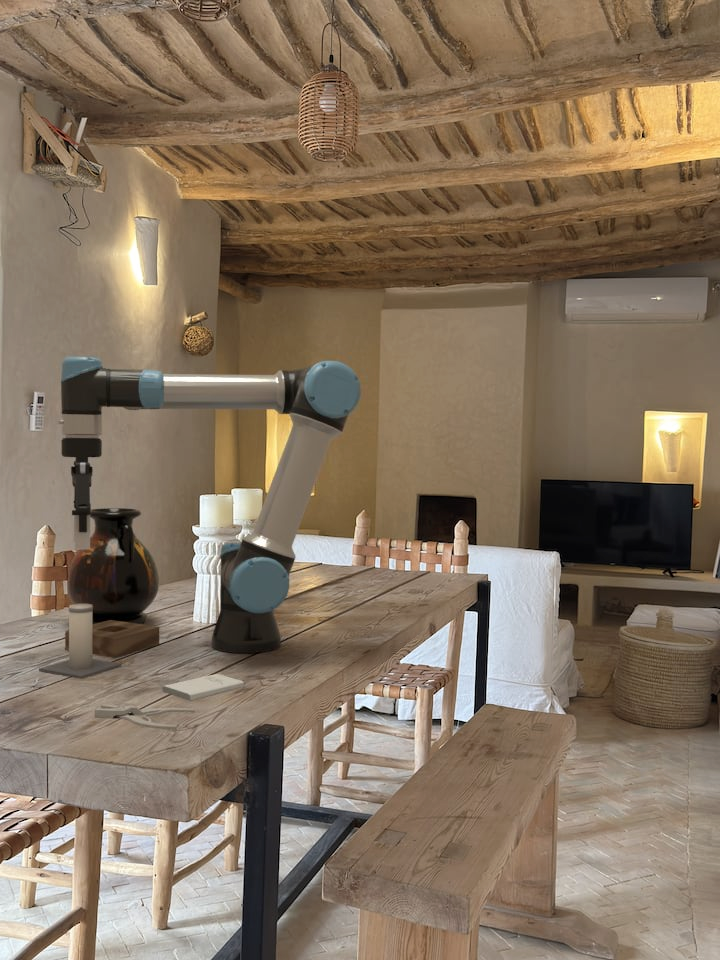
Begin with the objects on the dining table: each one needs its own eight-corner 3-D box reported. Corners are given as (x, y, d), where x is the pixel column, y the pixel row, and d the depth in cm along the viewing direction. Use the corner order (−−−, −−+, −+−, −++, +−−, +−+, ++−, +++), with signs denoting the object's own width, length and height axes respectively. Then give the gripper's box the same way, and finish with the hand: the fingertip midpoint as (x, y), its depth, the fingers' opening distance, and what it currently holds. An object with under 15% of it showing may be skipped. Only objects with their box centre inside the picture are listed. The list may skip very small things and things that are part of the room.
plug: (97, 664, 180) (97, 604, 179) (81, 669, 176) (81, 608, 175) (80, 662, 182) (80, 602, 181) (63, 666, 178) (63, 606, 177)
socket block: (159, 644, 200) (159, 626, 200) (115, 657, 188) (115, 638, 188) (110, 637, 207) (110, 619, 206) (65, 649, 194) (65, 631, 194)
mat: (121, 665, 181) (121, 663, 181) (81, 678, 171) (81, 676, 171) (80, 659, 186) (80, 656, 186) (39, 671, 176) (39, 668, 176)
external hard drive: (162, 694, 164) (215, 681, 173) (190, 703, 159) (244, 689, 168) (162, 685, 164) (215, 672, 173) (190, 694, 158) (244, 680, 168)
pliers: (174, 721, 143) (85, 715, 145) (174, 731, 143) (85, 725, 145) (195, 703, 153) (110, 698, 155) (194, 712, 153) (110, 707, 155)
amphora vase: (174, 627, 219) (174, 511, 217) (87, 638, 205) (88, 515, 204) (135, 612, 236) (136, 505, 234) (53, 622, 222) (53, 508, 221)
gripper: (61, 436, 187) (61, 538, 188) (61, 437, 164) (61, 553, 165) (98, 436, 190) (98, 537, 191) (104, 437, 166) (104, 552, 167)
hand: (81, 545), depth 178 cm, fingers open, 13 cm apart
